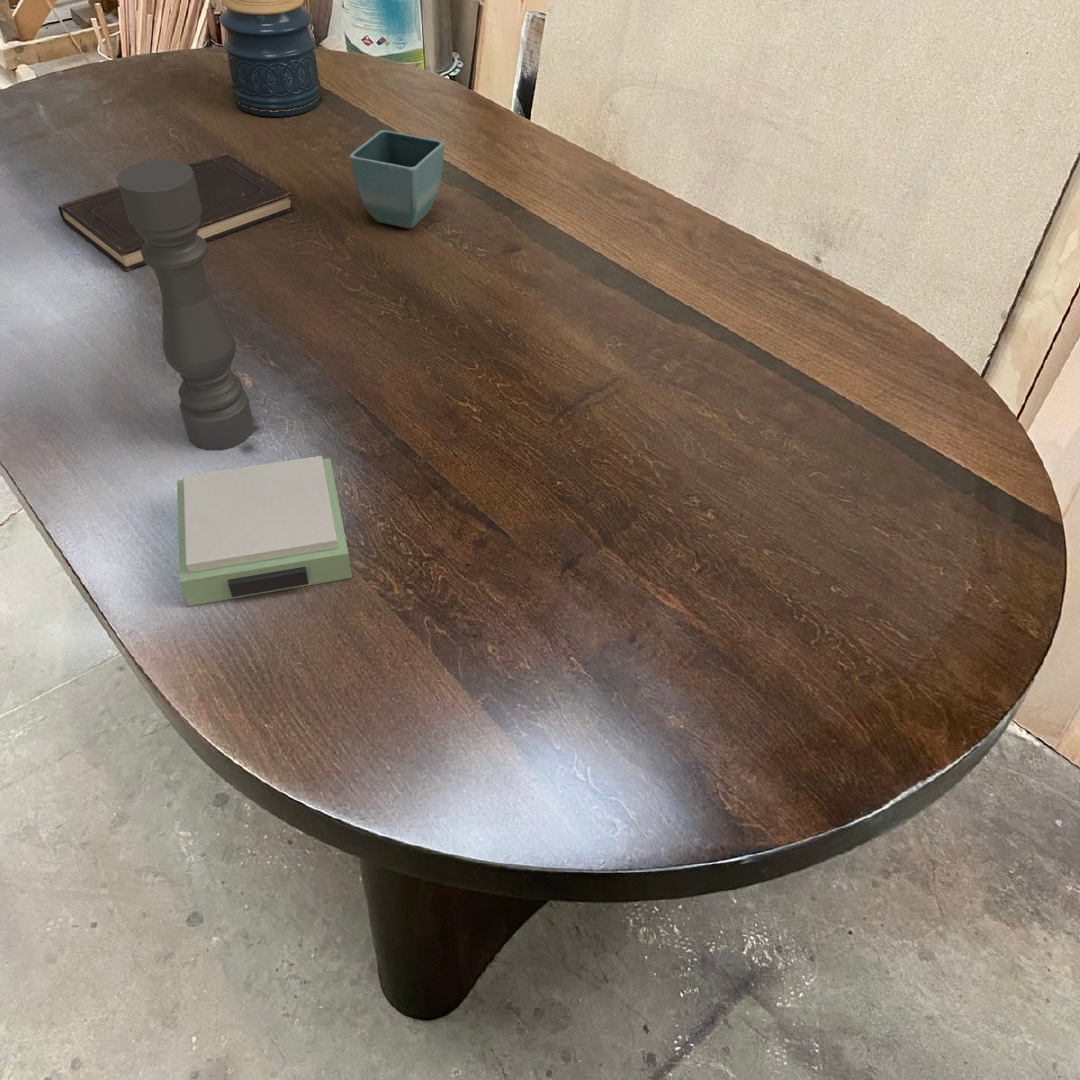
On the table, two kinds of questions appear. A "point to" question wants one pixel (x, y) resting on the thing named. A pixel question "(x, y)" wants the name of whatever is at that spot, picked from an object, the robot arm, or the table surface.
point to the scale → (259, 530)
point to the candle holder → (187, 301)
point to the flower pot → (398, 176)
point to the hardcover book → (226, 208)
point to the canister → (271, 56)
